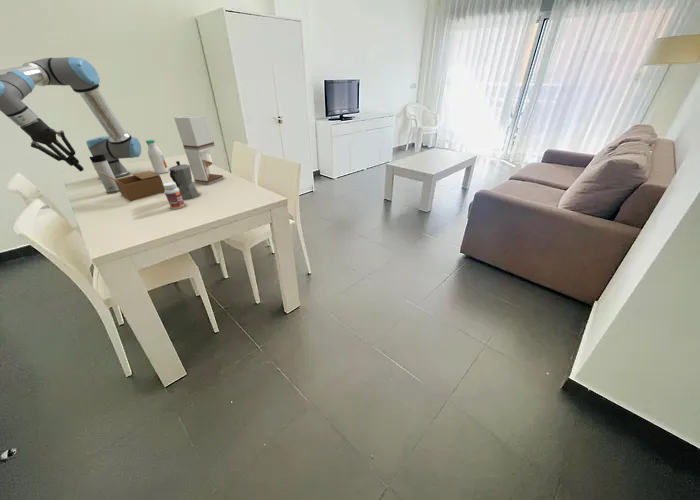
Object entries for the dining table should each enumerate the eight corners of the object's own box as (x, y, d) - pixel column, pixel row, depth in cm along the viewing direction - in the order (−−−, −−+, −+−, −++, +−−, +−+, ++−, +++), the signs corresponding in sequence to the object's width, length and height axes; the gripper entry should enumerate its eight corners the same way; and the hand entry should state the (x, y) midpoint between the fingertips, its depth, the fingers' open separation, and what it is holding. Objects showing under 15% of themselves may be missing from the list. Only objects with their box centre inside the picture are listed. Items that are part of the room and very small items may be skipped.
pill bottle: (183, 208, 133) (174, 185, 127) (169, 209, 132) (159, 186, 126) (186, 203, 138) (178, 181, 132) (172, 204, 137) (164, 182, 131)
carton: (130, 201, 142) (122, 183, 137) (121, 195, 150) (113, 178, 145) (166, 191, 153) (159, 174, 148) (156, 186, 161) (149, 170, 156)
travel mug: (114, 193, 152) (95, 156, 142) (104, 193, 153) (85, 155, 143) (124, 189, 157) (107, 153, 147) (114, 189, 159) (96, 152, 148)
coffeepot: (187, 191, 152) (175, 158, 142) (204, 191, 152) (193, 157, 142) (171, 203, 139) (157, 166, 129) (190, 202, 139) (177, 166, 129)
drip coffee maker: (209, 184, 161) (189, 117, 143) (195, 182, 165) (174, 117, 146) (223, 178, 170) (206, 115, 152) (210, 176, 174) (191, 114, 155)
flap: (122, 183, 137) (122, 184, 137) (113, 178, 145) (113, 178, 145) (102, 173, 131) (102, 174, 130) (94, 168, 138) (94, 169, 138)
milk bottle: (164, 173, 182) (152, 141, 171) (152, 174, 182) (139, 141, 172) (171, 170, 189) (159, 138, 178) (159, 170, 189) (147, 139, 178)
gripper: (10, 132, 109) (67, 180, 128) (47, 118, 112) (97, 166, 131) (11, 125, 113) (66, 172, 132) (46, 111, 116) (95, 159, 135)
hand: (81, 169), depth 131 cm, fingers closed
